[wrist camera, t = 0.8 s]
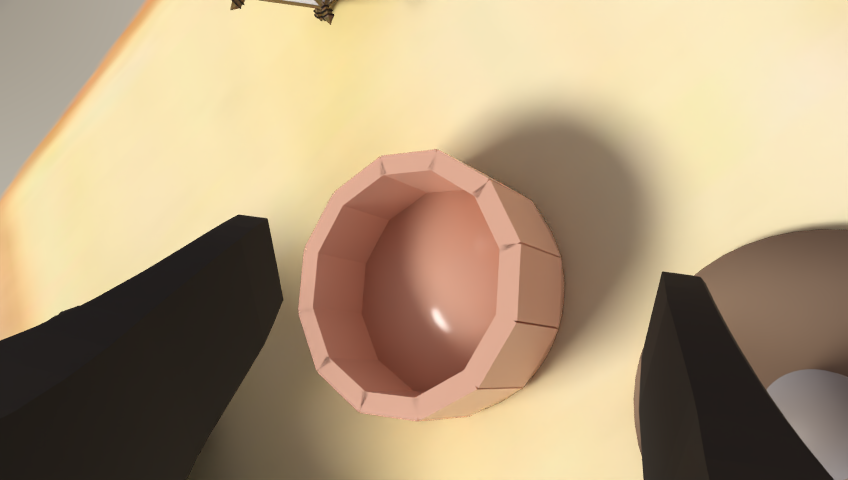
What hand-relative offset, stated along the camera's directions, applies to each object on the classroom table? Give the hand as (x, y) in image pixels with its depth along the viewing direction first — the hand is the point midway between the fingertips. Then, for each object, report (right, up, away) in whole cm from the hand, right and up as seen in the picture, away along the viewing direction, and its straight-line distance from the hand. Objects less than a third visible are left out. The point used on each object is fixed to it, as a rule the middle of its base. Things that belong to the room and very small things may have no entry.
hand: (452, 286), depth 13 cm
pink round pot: (+1, -1, +16) cm, 17 cm away
